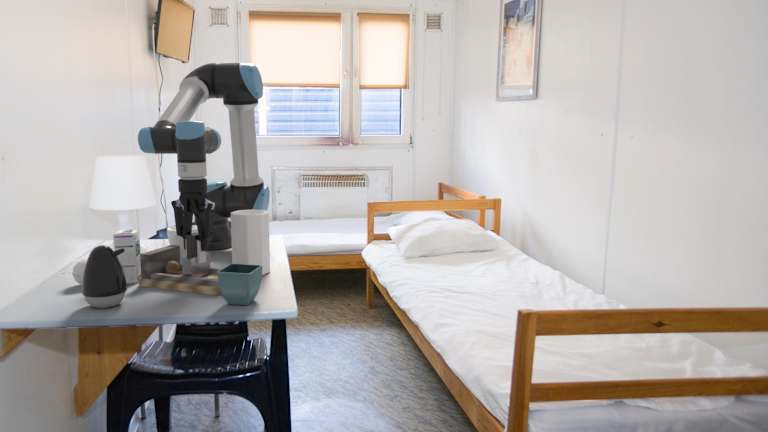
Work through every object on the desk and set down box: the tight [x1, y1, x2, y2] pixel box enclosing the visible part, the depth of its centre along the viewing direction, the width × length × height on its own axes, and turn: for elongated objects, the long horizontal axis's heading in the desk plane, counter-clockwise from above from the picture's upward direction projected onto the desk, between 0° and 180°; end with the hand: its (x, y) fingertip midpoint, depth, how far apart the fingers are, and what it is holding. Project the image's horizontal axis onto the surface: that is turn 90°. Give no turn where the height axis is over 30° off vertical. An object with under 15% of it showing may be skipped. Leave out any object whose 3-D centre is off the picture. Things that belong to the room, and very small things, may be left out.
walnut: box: [165, 261, 180, 275], centre depth 174 cm, size 4×4×4 cm
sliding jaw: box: [182, 232, 211, 277], centre depth 170 cm, size 3×8×12 cm, turn 160°
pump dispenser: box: [81, 244, 128, 309], centre depth 151 cm, size 10×10×15 cm
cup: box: [230, 209, 271, 277], centre depth 184 cm, size 11×11×18 cm
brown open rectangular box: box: [138, 244, 224, 296], centre depth 171 cm, size 26×14×9 cm, turn 70°
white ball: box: [61, 258, 88, 286], centre depth 170 cm, size 10×7×7 cm
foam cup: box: [166, 224, 198, 264], centre depth 188 cm, size 10×9×13 cm
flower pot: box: [217, 263, 263, 306], centre depth 155 cm, size 9×9×9 cm
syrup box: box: [112, 229, 142, 285], centre depth 174 cm, size 6×6×14 cm
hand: (196, 261), depth 171 cm, fingers closed on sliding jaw, 3 cm apart
